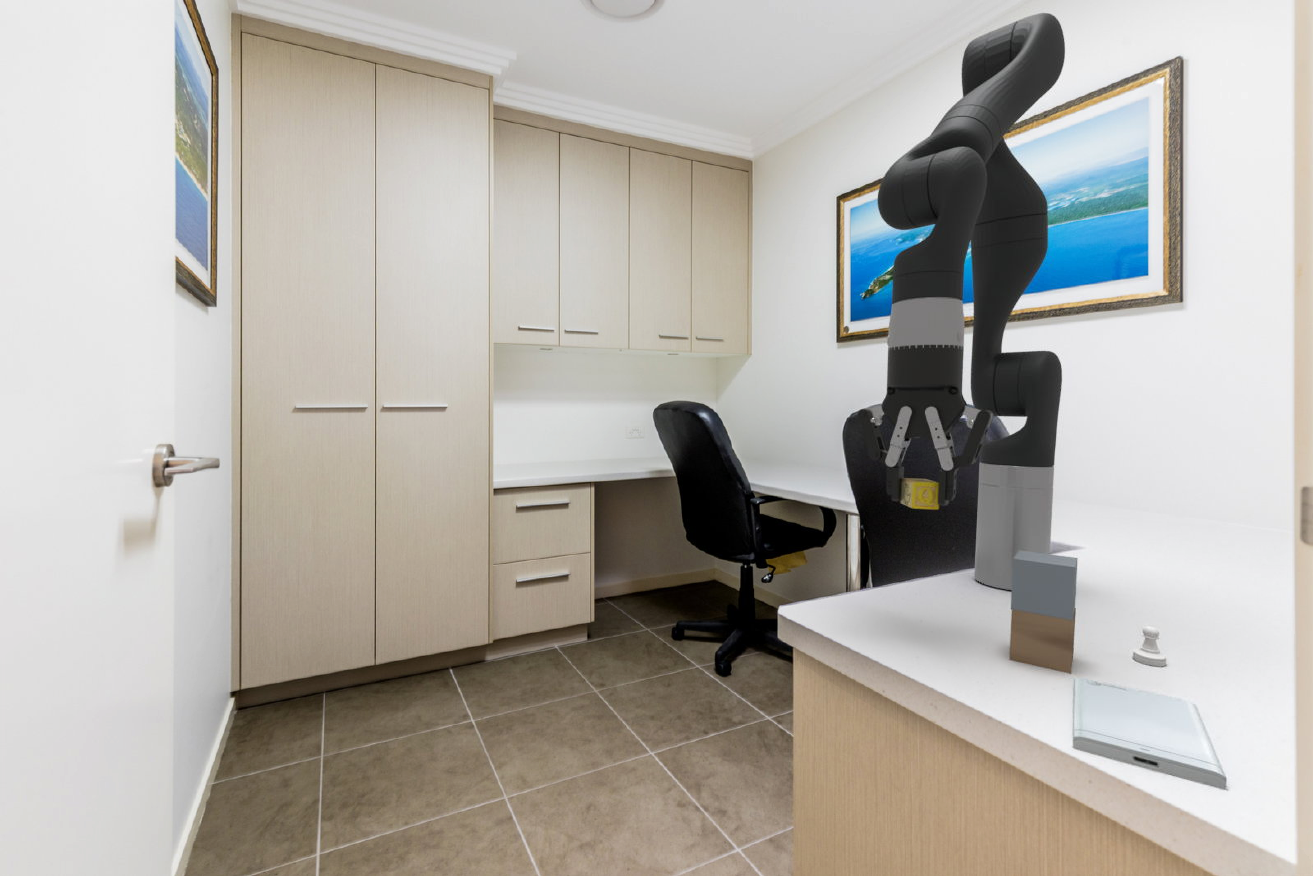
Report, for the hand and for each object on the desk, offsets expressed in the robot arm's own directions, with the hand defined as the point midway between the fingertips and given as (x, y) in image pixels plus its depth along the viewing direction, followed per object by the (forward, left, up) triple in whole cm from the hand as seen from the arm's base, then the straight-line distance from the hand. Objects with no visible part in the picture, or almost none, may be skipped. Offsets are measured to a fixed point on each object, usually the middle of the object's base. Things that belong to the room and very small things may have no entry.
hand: (919, 501), depth 67 cm
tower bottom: (0, +12, -14) cm, 19 cm away
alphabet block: (0, 0, -1) cm, 1 cm away
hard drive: (+12, +19, -15) cm, 27 cm away
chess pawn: (-6, +21, -15) cm, 26 cm away
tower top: (0, +12, -9) cm, 15 cm away
